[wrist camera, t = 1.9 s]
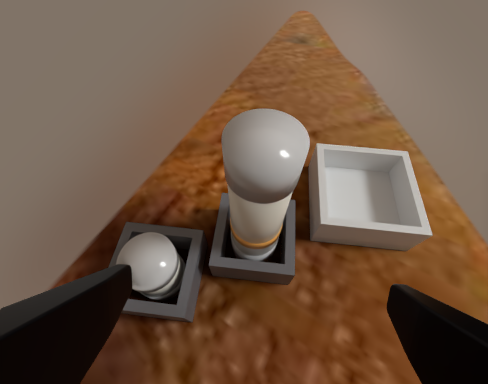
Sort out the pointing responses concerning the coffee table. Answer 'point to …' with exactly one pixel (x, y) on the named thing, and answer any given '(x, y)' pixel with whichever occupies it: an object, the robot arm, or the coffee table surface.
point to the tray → (365, 198)
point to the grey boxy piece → (191, 279)
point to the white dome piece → (153, 265)
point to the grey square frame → (248, 267)
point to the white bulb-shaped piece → (261, 177)
